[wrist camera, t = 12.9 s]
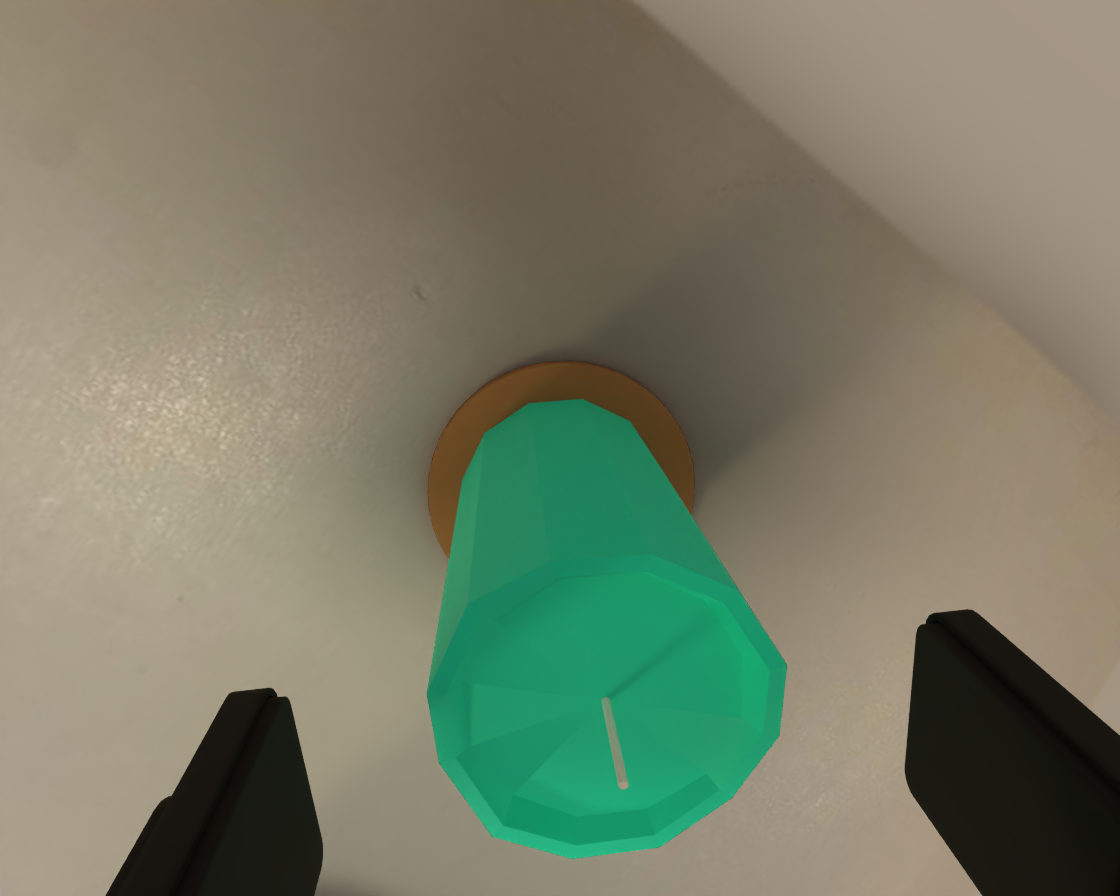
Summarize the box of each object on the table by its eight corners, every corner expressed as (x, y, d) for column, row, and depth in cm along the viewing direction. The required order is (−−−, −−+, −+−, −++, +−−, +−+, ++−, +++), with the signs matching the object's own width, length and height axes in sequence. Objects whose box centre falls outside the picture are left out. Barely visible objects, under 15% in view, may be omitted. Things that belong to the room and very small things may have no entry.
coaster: (411, 374, 21) (409, 377, 21) (688, 348, 22) (691, 350, 21) (446, 621, 24) (445, 628, 23) (695, 594, 24) (698, 600, 24)
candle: (627, 368, 21) (772, 539, 10) (685, 549, 23) (864, 872, 12) (430, 437, 21) (344, 684, 10) (502, 611, 23) (499, 991, 12)
